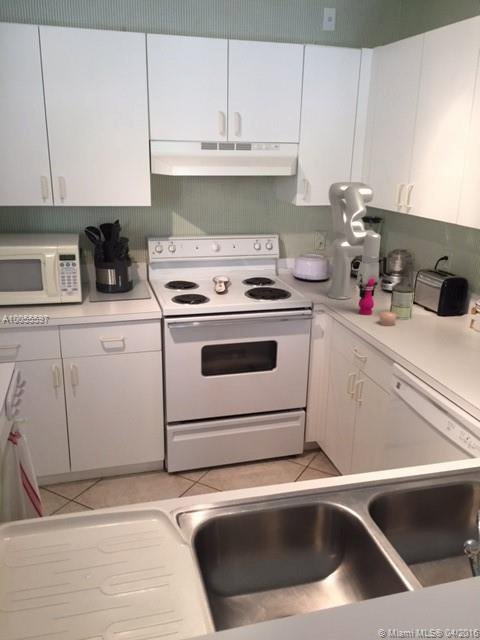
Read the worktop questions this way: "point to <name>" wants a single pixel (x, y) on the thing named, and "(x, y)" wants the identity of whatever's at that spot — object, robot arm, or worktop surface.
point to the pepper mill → (367, 299)
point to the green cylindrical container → (402, 301)
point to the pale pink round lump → (387, 318)
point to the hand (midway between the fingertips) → (366, 296)
